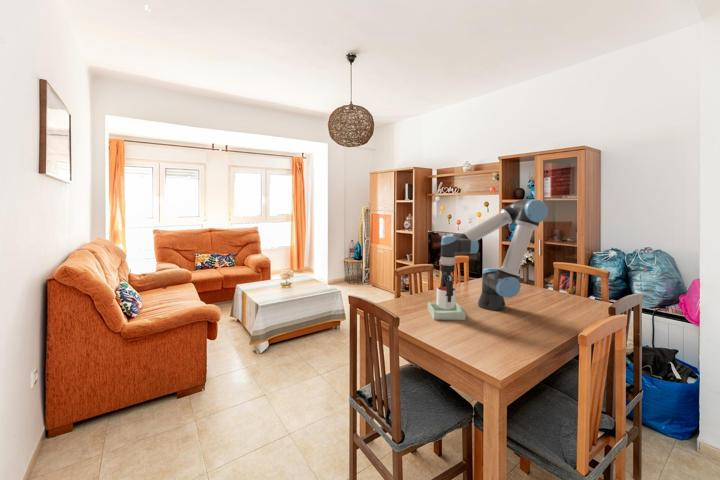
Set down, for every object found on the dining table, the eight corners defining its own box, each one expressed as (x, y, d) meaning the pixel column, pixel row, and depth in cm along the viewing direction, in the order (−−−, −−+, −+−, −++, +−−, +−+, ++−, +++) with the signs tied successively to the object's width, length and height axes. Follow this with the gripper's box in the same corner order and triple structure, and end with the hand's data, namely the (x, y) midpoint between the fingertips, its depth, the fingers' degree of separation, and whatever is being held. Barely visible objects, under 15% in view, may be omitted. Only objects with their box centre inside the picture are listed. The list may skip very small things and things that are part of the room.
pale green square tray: (456, 309, 187) (456, 302, 186) (465, 320, 171) (465, 311, 170) (427, 309, 187) (427, 302, 186) (433, 319, 171) (434, 311, 170)
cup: (455, 310, 172) (456, 291, 171) (436, 308, 174) (437, 290, 173) (454, 304, 182) (455, 287, 181) (436, 303, 184) (436, 286, 183)
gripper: (435, 260, 187) (434, 298, 189) (446, 268, 164) (444, 311, 167) (448, 260, 187) (447, 298, 189) (460, 268, 164) (458, 311, 167)
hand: (445, 304), depth 178 cm, fingers closed on cup, 10 cm apart
